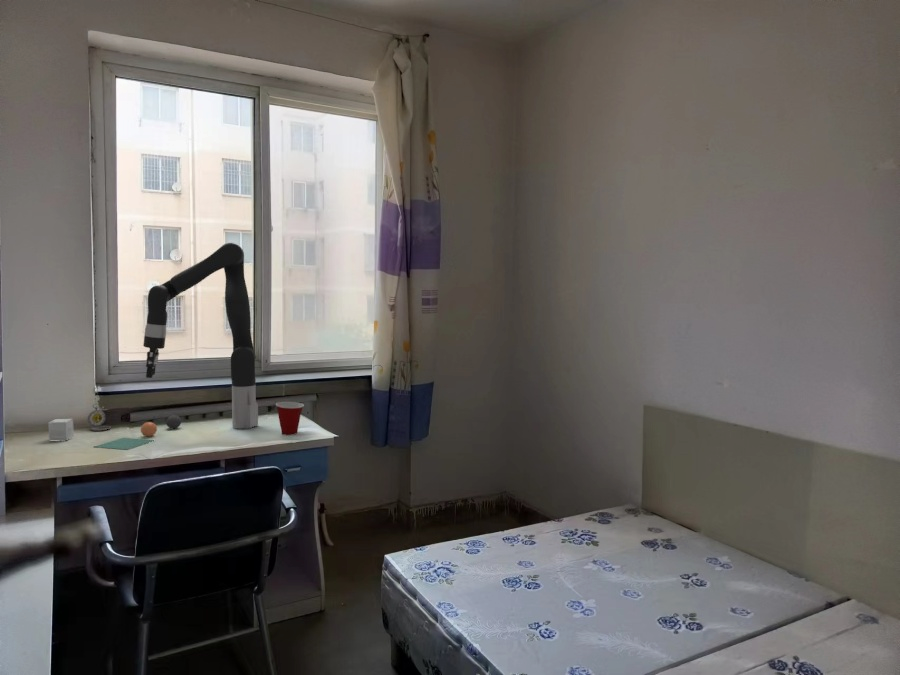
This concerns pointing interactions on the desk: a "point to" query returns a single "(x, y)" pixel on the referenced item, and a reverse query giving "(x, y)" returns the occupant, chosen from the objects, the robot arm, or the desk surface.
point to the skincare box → (61, 429)
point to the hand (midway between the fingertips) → (150, 376)
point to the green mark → (124, 443)
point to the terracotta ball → (148, 429)
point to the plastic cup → (289, 416)
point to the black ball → (173, 421)
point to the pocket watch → (97, 419)
